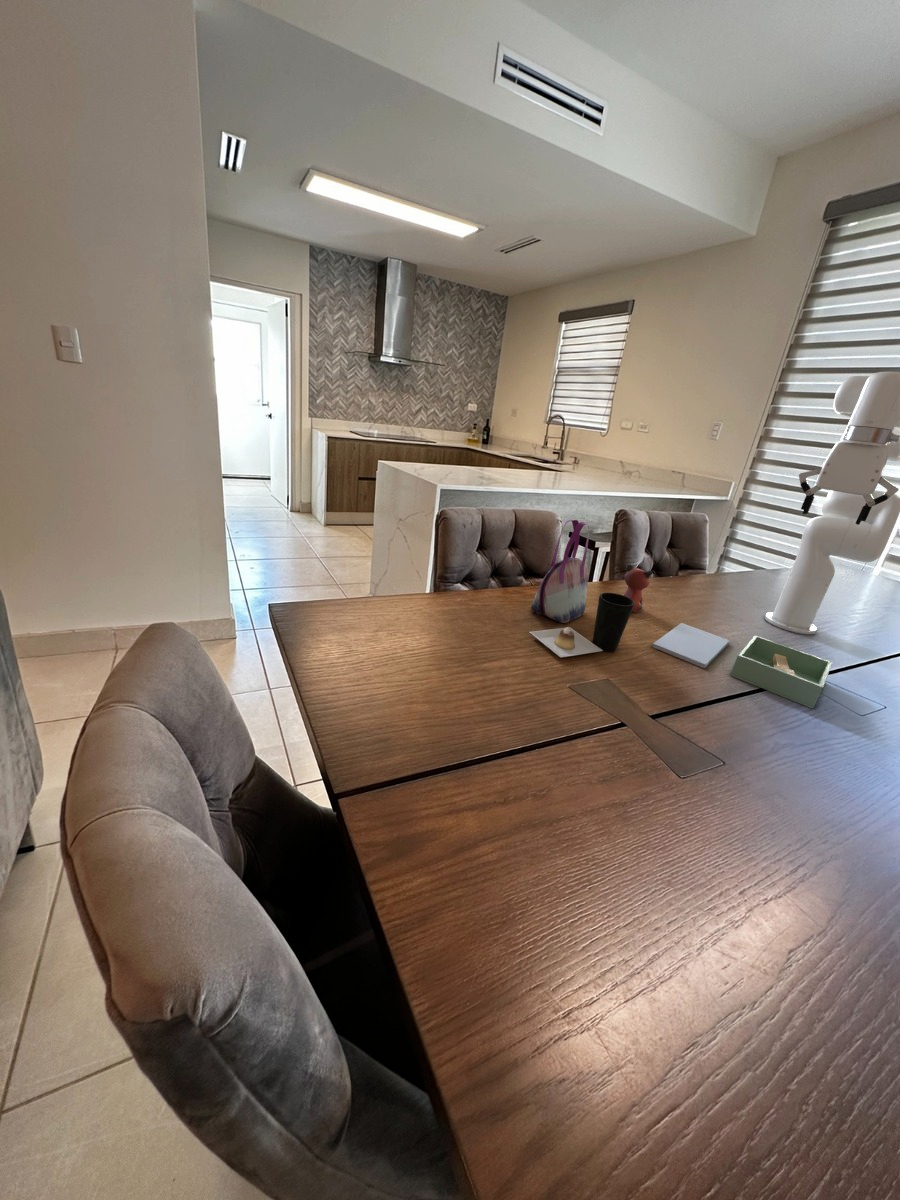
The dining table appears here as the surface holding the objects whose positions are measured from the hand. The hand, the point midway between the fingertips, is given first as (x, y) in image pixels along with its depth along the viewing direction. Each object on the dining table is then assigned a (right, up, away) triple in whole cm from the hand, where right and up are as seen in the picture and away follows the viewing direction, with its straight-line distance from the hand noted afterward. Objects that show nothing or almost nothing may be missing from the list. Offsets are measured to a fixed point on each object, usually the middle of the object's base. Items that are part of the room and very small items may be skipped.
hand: (830, 518), depth 104 cm
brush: (-12, -35, 0) cm, 37 cm away
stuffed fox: (-34, -21, +30) cm, 50 cm away
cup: (-48, -29, +6) cm, 57 cm away
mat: (-25, -29, +12) cm, 40 cm away
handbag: (-56, -22, +21) cm, 63 cm away
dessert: (-58, -29, +4) cm, 65 cm away
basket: (-12, -36, 0) cm, 37 cm away
